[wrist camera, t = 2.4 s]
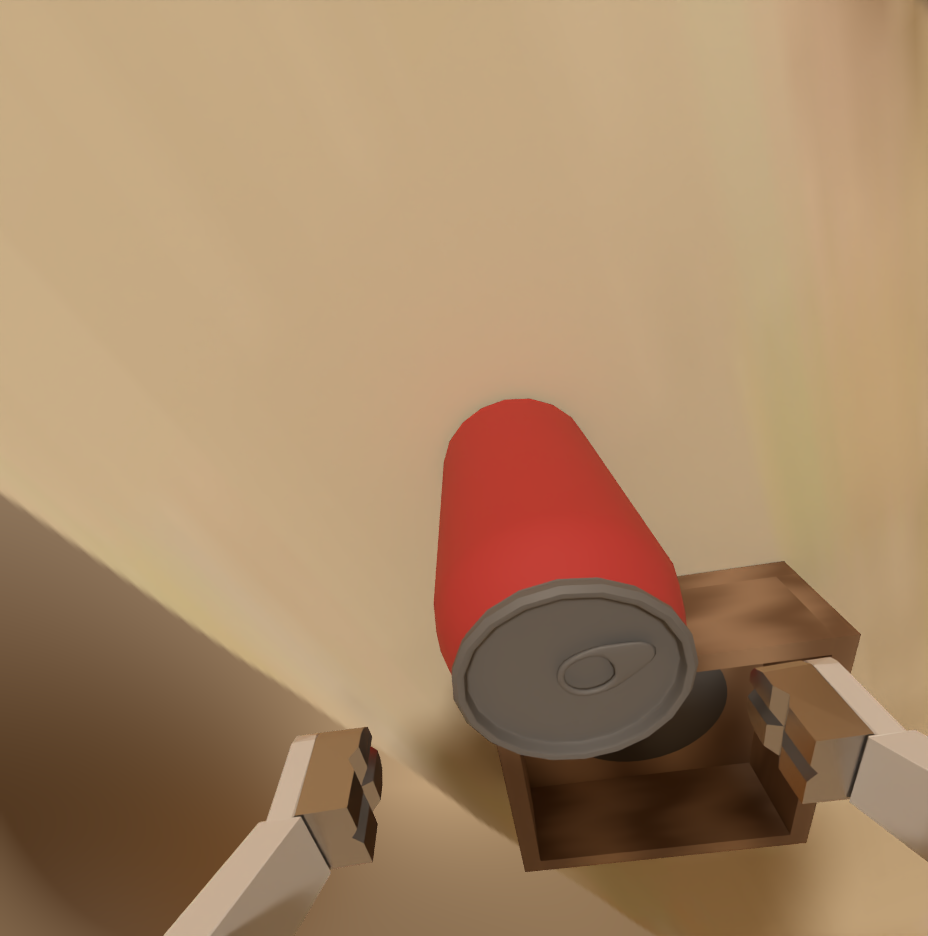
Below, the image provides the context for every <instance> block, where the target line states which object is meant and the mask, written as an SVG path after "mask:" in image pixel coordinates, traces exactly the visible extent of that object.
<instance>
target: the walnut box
mask: <svg viewBox="0 0 928 936" xmlns="http://www.w3.org/2000/svg"><path fill="white" fill-rule="evenodd" d="M677 579H678V582H679V585H680V590H681V595H682V599H683V604H684V608H685V613H686V624H687V627H688V629H689V630H690V631H691V633H692V635H693V639H694V643H695V648H696V652H697V657H698V662H699V663H698V667H697V671H696V675H695V680H694V684H693V688H692V690H691V692H690V693H689V695H688V696H687V698H686V699H685V701H684V702H683V704H682V705H681V706H680V708H679V709H678V711H677V712H676V714H675V715H674V716H673V718H671V719H670V720H669V721H668V722H666V723H665V724H664V725H663V726H661V727H660V728H659V729H658V730H656V731H655V732H654V733H653V734H651V735H650V736H649V737H647V738H645V739H643V740H641V741H639V742H636V743H634V744H632V745H630V746H628V747H626V748H624V749H622V750H619V751H616V752H612V753H608V754H604V755H599V756H595V757H591V758H587V759H568V760H548V759H542V758H536V757H530V756H524V755H520V754H517V753H515V752H512V751H510V750H508V749H505V748H503V747H501V746H498V745H497V748H498V752H499V757H500V761H501V766H502V770H503V775H504V779H505V783H506V788H507V792H508V797H509V801H510V806H511V810H512V815H513V819H514V824H515V828H516V833H517V837H518V842H519V846H520V851H521V855H522V859H523V864H524V868H525V872H530V871H540V870H549V869H559V868H568V867H578V866H588V865H597V864H607V863H616V862H626V861H636V860H645V859H655V858H664V857H674V856H684V855H693V854H703V853H712V852H722V851H731V850H741V849H751V848H760V847H770V846H779V845H789V844H799V843H806V842H807V838H808V834H809V830H810V826H811V823H812V819H813V815H814V811H815V807H816V803H817V802H816V803H807V804H802V803H801V802H800V800H799V798H798V797H797V795H796V794H795V792H794V791H793V789H792V788H791V786H790V785H789V783H788V782H787V780H786V779H785V777H784V776H783V774H782V773H781V771H780V770H779V768H778V767H779V755H777V754H776V753H774V752H773V751H771V750H770V749H768V748H767V747H765V746H764V745H763V744H762V742H761V740H760V739H759V737H758V736H757V734H756V732H755V730H754V728H753V726H752V724H751V722H750V718H749V714H748V711H747V696H748V695H749V694H750V693H751V692H752V691H753V690H754V689H755V688H754V687H753V686H752V684H751V683H750V681H749V679H750V672H751V671H752V670H753V669H754V668H758V667H764V666H770V665H776V664H782V663H789V662H795V661H806V660H812V659H818V658H824V657H831V658H833V659H835V660H837V661H838V662H839V663H840V664H841V665H842V666H843V667H844V668H845V669H846V670H847V671H848V672H849V673H850V674H851V670H852V666H853V662H854V659H855V655H856V651H857V647H858V643H859V640H860V636H861V634H860V633H859V632H858V631H857V630H856V629H855V628H854V627H853V626H852V625H851V624H850V623H848V622H847V621H846V620H845V619H844V618H843V617H842V616H841V615H840V614H839V613H838V612H837V611H836V610H835V609H834V608H833V607H832V606H831V605H829V604H828V603H827V602H826V601H825V600H824V599H823V598H822V597H821V596H820V595H819V594H818V593H817V592H816V591H815V590H814V589H813V588H812V587H811V586H809V585H808V584H807V583H806V582H805V581H804V580H803V579H802V578H801V577H800V576H799V575H798V574H797V573H796V572H795V571H794V570H793V569H792V568H790V567H789V566H788V565H787V564H786V563H785V562H784V561H783V562H776V563H769V564H762V565H755V566H748V567H741V568H734V569H727V570H720V571H713V572H706V573H699V574H692V575H685V576H678V577H677Z"/></svg>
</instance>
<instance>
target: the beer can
mask: <svg viewBox="0 0 928 936" xmlns="http://www.w3.org/2000/svg"><path fill="white" fill-rule="evenodd" d="M434 611H435V622H436V632H437V637H438V641H439V645H440V650H441V653H442V655H443V657H444V660H445V662H446V664H447V666H448V668H449V671H450V673H451V675H452V684H453V696H454V701H455V702H456V704H457V706H458V708H459V709H460V711H461V713H462V715H463V717H464V718H465V720H466V722H467V723H468V724H469V725H470V726H472V727H473V728H474V729H475V730H476V731H478V732H479V733H480V734H481V735H482V736H484V737H485V738H486V739H487V740H488V741H490V742H492V743H494V744H496V745H498V746H501V747H503V748H505V749H508V750H510V751H512V752H515V753H517V754H520V755H524V756H530V757H536V758H542V759H548V760H568V759H587V758H591V757H595V756H599V755H604V754H608V753H612V752H616V751H619V750H622V749H624V748H626V747H628V746H630V745H632V744H634V743H636V742H639V741H641V740H643V739H645V738H647V737H649V736H650V735H651V734H653V733H654V732H655V731H656V730H658V729H659V728H660V727H661V726H663V725H664V724H665V723H666V722H668V721H669V720H670V719H671V718H673V716H674V715H675V714H676V712H677V711H678V709H679V708H680V706H681V705H682V704H683V702H684V701H685V699H686V698H687V696H688V695H689V693H690V692H691V690H692V688H693V684H694V680H695V675H696V671H697V667H698V663H699V662H698V657H697V652H696V648H695V643H694V639H693V635H692V633H691V631H690V630H689V629H688V627H687V624H686V613H685V608H684V604H683V599H682V595H681V590H680V585H679V582H678V579H677V575H676V572H675V569H674V566H673V563H672V561H671V560H670V559H669V557H668V556H667V554H666V553H665V551H664V550H663V548H662V547H661V546H660V544H659V543H658V541H657V540H656V538H655V537H654V535H653V534H652V532H651V531H650V530H649V528H648V527H647V525H646V524H645V522H644V521H643V519H642V518H641V516H640V515H639V514H638V512H637V511H636V509H635V508H634V506H633V505H632V503H631V502H630V500H629V499H628V498H627V496H626V495H625V493H624V492H623V490H622V489H621V487H620V486H619V484H618V483H617V482H616V480H615V479H614V477H613V476H612V474H611V473H610V471H609V470H608V469H607V467H606V466H605V464H604V463H603V461H602V460H601V458H600V457H599V455H598V454H597V453H596V451H595V450H594V448H593V447H592V445H591V444H590V442H589V441H588V439H587V438H586V437H585V435H584V434H583V432H582V431H581V430H580V428H579V427H578V426H577V424H576V423H575V421H574V420H573V419H572V418H571V417H570V416H569V415H567V414H566V413H564V412H563V411H561V410H560V409H558V408H557V407H555V406H554V405H551V404H548V403H544V402H540V401H536V400H533V399H511V400H503V401H500V402H497V403H495V404H492V405H489V406H486V407H484V408H481V409H480V410H479V411H477V412H476V413H475V414H473V415H472V416H471V417H470V418H468V419H467V420H466V421H464V422H463V423H462V424H461V426H460V427H459V429H458V430H457V432H456V433H455V435H454V436H453V437H452V439H451V440H450V442H449V446H448V449H447V453H446V457H445V460H444V468H443V482H442V496H441V510H440V524H439V538H438V552H437V566H436V580H435V594H434Z"/></svg>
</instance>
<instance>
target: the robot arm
mask: <svg viewBox="0 0 928 936" xmlns="http://www.w3.org/2000/svg"><path fill="white" fill-rule="evenodd" d="M749 681H750V683H751V684H752V686H753V687H754V688H755V689H754V690H753V691H752V692H751V693H750V694H749V695H748V696H747V711H748V714H749V718H750V722H751V724H752V726H753V728H754V730H755V732H756V734H757V736H758V737H759V739H760V740H761V742H762V744H763V745H764V746H765V747H767V748H768V749H770V750H771V751H773V752H774V753H776V754H777V755H779V767H778V768H779V770H780V771H781V773H782V774H783V776H784V777H785V779H786V780H787V782H788V783H789V785H790V786H791V788H792V789H793V791H794V792H795V794H796V795H797V797H798V798H799V800H800V802H801V803H802V804H807V803H816V802H826V801H835V800H845V799H850V801H849V802H850V803H851V804H853V805H854V806H855V807H857V808H858V809H859V810H861V811H862V812H863V813H865V814H866V815H867V816H868V817H870V818H871V819H872V820H874V821H875V822H876V823H878V824H879V825H880V826H882V827H883V828H884V829H885V830H887V831H888V832H889V833H891V834H892V835H893V836H895V837H896V838H897V839H899V840H900V841H901V842H903V843H904V844H905V845H906V846H908V847H909V848H910V849H912V850H913V851H914V852H916V853H917V854H918V855H920V856H921V857H922V858H924V859H925V860H926V861H927V862H928V736H926V735H924V734H922V733H920V732H918V731H917V730H905V729H904V728H903V727H902V726H901V724H900V723H899V722H898V721H897V720H896V719H895V718H894V717H893V716H892V715H891V714H890V713H889V712H888V711H887V710H886V709H885V708H884V707H883V706H882V705H881V704H880V703H879V702H878V701H877V700H876V699H875V698H874V697H873V696H872V695H871V694H870V693H869V692H868V691H867V690H866V689H865V688H864V687H863V686H862V685H861V684H860V683H859V682H858V681H857V680H856V679H855V678H854V677H853V676H852V675H851V674H850V673H849V672H848V671H847V670H846V669H845V668H844V667H843V666H842V665H841V664H840V663H839V662H838V661H837V660H835V659H833V658H831V657H824V658H818V659H812V660H806V661H795V662H789V663H782V664H776V665H770V666H764V667H758V668H754V669H753V670H752V671H751V672H750V679H749ZM371 740H372V736H371V733H370V731H369V729H368V727H362V728H354V729H346V730H339V731H331V732H323V733H314V734H307V735H300V736H297V737H296V739H295V740H294V741H293V743H292V744H291V747H290V750H289V753H288V756H287V759H286V762H285V766H284V768H283V772H282V775H281V778H280V781H279V784H278V787H277V790H276V793H275V796H274V799H273V802H272V805H271V808H270V811H269V815H268V817H267V820H266V821H263V822H259V823H258V824H257V825H256V827H255V828H254V829H253V830H252V831H251V833H250V834H249V835H248V836H247V837H246V839H245V840H244V841H243V842H242V843H241V844H240V846H239V847H238V848H237V849H236V850H235V851H234V853H233V854H232V855H231V856H230V857H229V859H228V860H227V861H226V862H225V863H224V864H223V866H222V867H221V868H220V869H219V870H218V872H217V873H216V874H215V875H214V876H213V878H212V879H211V880H210V881H209V882H208V883H207V885H206V886H205V887H204V888H203V889H202V891H201V892H200V893H199V894H198V895H197V896H196V898H195V899H194V900H193V901H192V903H191V904H190V905H189V906H188V907H187V909H186V910H185V911H184V912H183V913H182V914H181V915H180V917H179V918H178V919H177V920H176V921H175V923H174V924H173V925H172V926H171V927H170V929H169V930H168V931H167V932H166V933H165V934H164V936H295V934H296V932H297V931H298V929H299V927H300V926H301V924H302V922H303V921H304V919H305V917H306V915H307V914H308V912H309V910H310V908H311V907H312V905H313V903H314V901H315V900H316V898H317V896H318V894H319V893H320V891H321V889H322V887H323V886H324V884H325V882H326V880H327V879H328V877H329V875H330V874H331V871H330V870H331V869H336V868H342V867H348V866H354V865H360V864H366V863H372V862H373V856H374V847H375V840H376V833H377V822H376V819H375V817H374V814H373V810H374V809H375V807H376V806H377V804H378V803H379V801H380V800H381V791H382V766H381V760H380V756H379V754H378V751H377V750H376V749H374V748H373V747H371Z"/></svg>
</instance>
